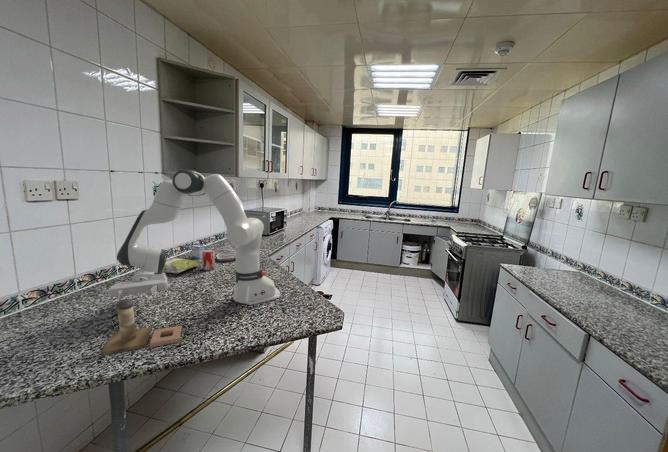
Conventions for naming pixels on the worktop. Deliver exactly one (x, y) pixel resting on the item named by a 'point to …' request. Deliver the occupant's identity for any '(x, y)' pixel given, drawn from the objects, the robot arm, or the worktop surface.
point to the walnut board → (119, 346)
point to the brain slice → (226, 256)
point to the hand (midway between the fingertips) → (135, 294)
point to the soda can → (208, 259)
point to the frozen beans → (179, 265)
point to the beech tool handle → (126, 320)
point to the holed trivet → (166, 336)
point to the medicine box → (197, 251)
